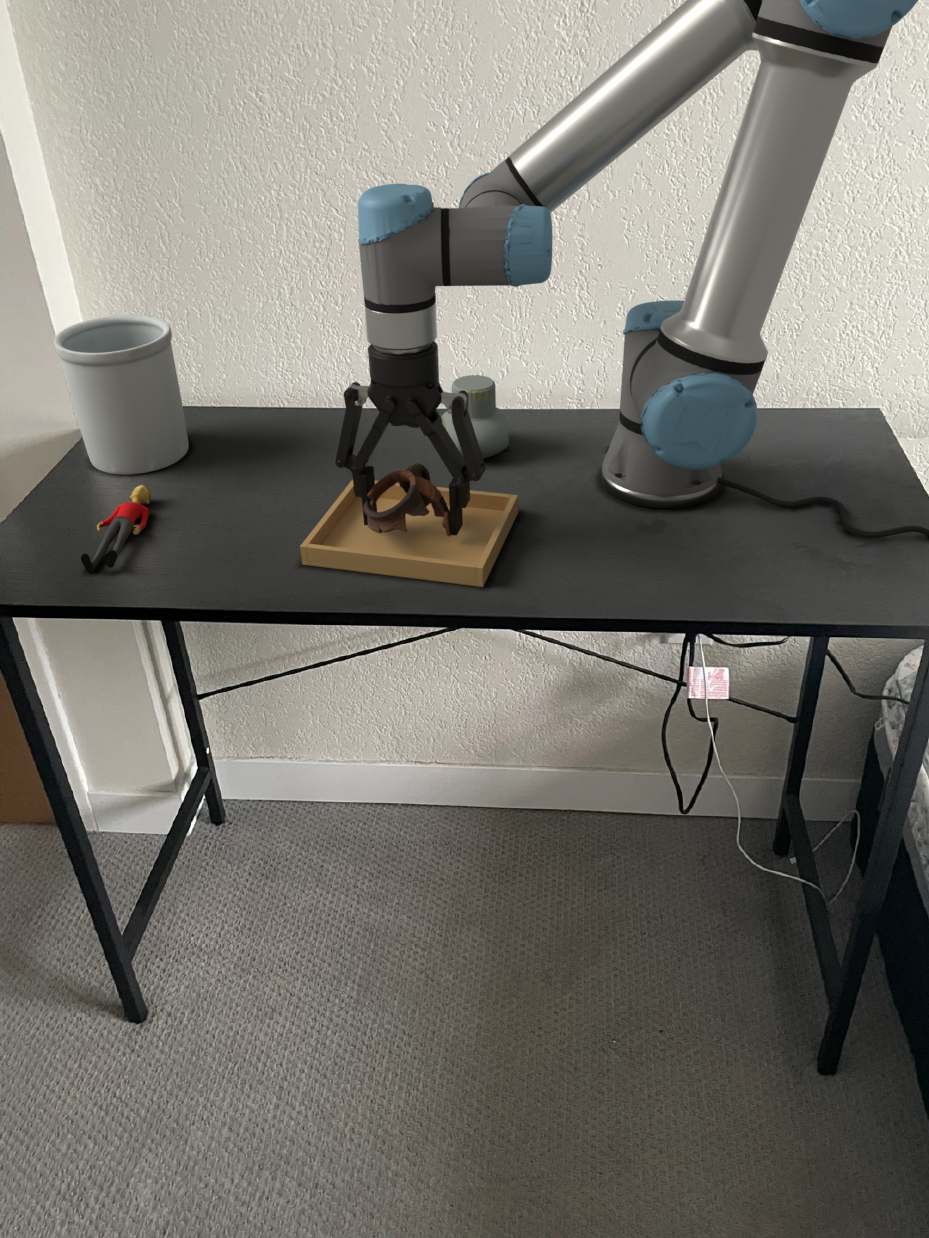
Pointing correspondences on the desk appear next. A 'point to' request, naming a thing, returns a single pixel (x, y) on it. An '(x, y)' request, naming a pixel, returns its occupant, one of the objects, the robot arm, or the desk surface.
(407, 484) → the broken clay pot
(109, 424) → the utensil holder
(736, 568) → the desk surface
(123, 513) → the person figure
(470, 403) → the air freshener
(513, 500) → the tray
